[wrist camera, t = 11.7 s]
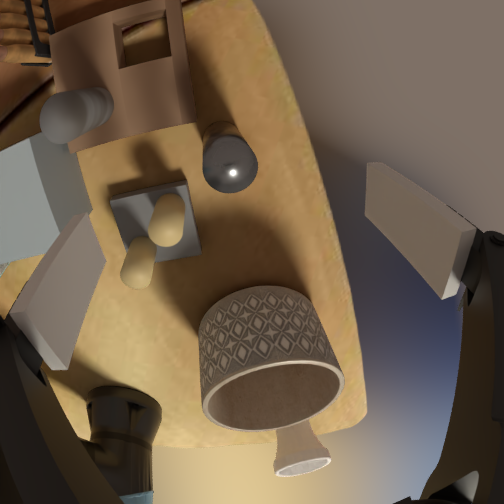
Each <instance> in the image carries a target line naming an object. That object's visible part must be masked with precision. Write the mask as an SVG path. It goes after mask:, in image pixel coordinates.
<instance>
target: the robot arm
mask: <svg viewBox="0 0 504 504" xmlns="http://www.w3.org/2000/svg"><path fill="white" fill-rule="evenodd" d="M365 216H366V217H367V218H368V219H369V220H370V221H371V222H372V223H373V224H374V225H375V226H376V227H377V228H378V229H379V230H380V231H381V232H382V233H383V234H384V235H385V236H386V237H387V238H388V239H389V240H390V241H391V243H392V244H394V246H395V247H396V248H397V249H398V250H399V251H400V252H401V253H402V254H403V255H404V257H405V258H406V259H407V260H408V261H409V262H410V263H411V264H412V265H413V267H414V268H415V269H416V270H417V271H418V272H419V273H420V275H421V276H422V277H423V278H424V279H425V280H426V282H427V283H428V284H429V285H430V286H431V287H432V289H433V290H434V291H435V292H436V293H437V295H438V296H439V297H440V298H441V299H445V298H447V297H450V296H453V295H455V294H456V293H457V290H458V287H459V285H460V282H461V281H462V282H463V283H464V284H465V285H466V289H465V292H464V294H463V297H462V300H461V302H460V305H459V307H458V311H460V309H461V307H463V326H462V342H461V352H460V362H459V370H458V377H457V384H456V390H455V397H454V402H453V407H452V412H451V417H450V422H449V426H448V431H447V434H446V438H445V442H444V446H443V450H442V453H441V457H440V460H439V462H438V464H437V467H436V468H435V470H434V471H433V473H432V474H431V475H430V477H429V479H428V481H427V483H426V485H425V487H424V489H423V492H422V495H421V497H420V499H419V500H411V498H410V497H407V498H405V499H403V500H401V501H398V502H396V503H394V504H504V235H503V234H501V233H498V232H495V231H486V232H485V233H483V232H482V231H481V230H479V229H478V228H477V227H476V226H474V225H473V224H472V223H470V222H469V221H468V220H467V219H465V218H463V216H462V215H460V214H459V213H457V212H456V211H455V210H453V209H452V208H451V207H449V206H448V205H445V204H444V203H443V202H441V201H440V200H438V199H437V198H435V197H434V196H433V195H431V194H430V193H428V192H427V191H425V190H424V189H422V188H421V187H419V186H418V185H416V184H415V183H413V182H412V181H410V180H409V179H407V178H406V177H404V176H403V175H401V174H399V173H398V172H396V171H395V170H393V169H391V168H390V167H388V166H386V165H385V164H383V163H381V162H375V163H367V182H366V204H365ZM105 263H106V259H105V257H104V254H103V252H102V249H101V247H100V244H99V242H98V239H97V237H96V234H95V232H94V229H93V227H92V224H91V221H90V218H89V216H88V213H87V212H85V213H81V214H77V215H74V216H73V217H72V218H71V220H70V221H69V222H68V224H67V225H66V226H65V228H64V229H63V230H62V232H61V233H60V234H59V236H58V237H57V238H56V240H55V241H54V243H53V244H52V245H51V247H50V248H49V250H48V251H47V253H46V254H45V255H44V257H43V258H42V260H41V261H40V263H39V264H38V266H37V267H36V269H35V271H34V272H33V274H32V275H31V277H30V278H29V280H28V281H27V282H26V283H25V285H24V287H23V288H22V290H21V293H19V295H18V297H17V300H15V302H14V304H13V305H12V307H11V309H10V311H9V313H8V314H7V316H6V318H5V320H3V318H2V317H1V315H0V504H152V499H153V493H154V491H153V483H152V443H153V441H154V438H155V436H156V433H157V431H158V428H159V426H160V423H161V419H162V409H161V407H160V405H159V404H158V403H157V402H156V401H155V400H154V399H152V398H151V397H149V396H147V395H145V394H143V393H141V392H138V391H135V390H132V389H128V388H122V387H114V386H104V387H98V388H95V389H93V390H91V391H90V392H89V394H88V398H87V403H86V407H87V413H88V419H89V424H90V429H91V437H90V441H87V440H85V439H82V438H79V437H78V436H77V434H76V433H75V431H74V429H73V428H72V426H71V424H70V422H69V420H68V419H67V417H66V415H65V413H64V411H63V409H62V407H61V405H60V403H59V401H58V399H57V397H56V395H55V393H54V391H53V389H52V387H51V385H50V383H49V380H48V378H47V376H46V374H45V372H44V371H43V370H42V369H41V368H40V366H41V364H42V361H43V360H44V361H45V362H46V364H47V365H48V366H49V367H50V368H51V370H68V368H69V364H70V361H71V357H72V354H73V351H74V347H75V344H76V341H77V338H78V335H79V332H80V329H81V326H82V323H83V320H84V317H85V314H86V312H87V309H88V306H89V303H90V301H91V298H92V295H93V293H94V290H95V288H96V285H97V283H98V280H99V278H100V275H101V273H102V270H103V268H104V266H105Z"/></svg>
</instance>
